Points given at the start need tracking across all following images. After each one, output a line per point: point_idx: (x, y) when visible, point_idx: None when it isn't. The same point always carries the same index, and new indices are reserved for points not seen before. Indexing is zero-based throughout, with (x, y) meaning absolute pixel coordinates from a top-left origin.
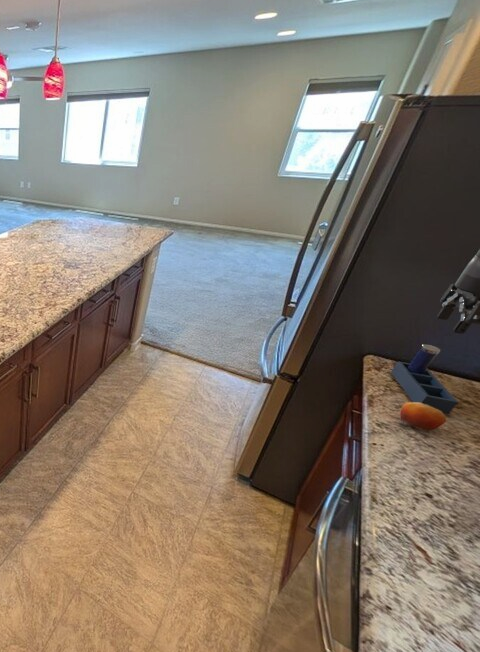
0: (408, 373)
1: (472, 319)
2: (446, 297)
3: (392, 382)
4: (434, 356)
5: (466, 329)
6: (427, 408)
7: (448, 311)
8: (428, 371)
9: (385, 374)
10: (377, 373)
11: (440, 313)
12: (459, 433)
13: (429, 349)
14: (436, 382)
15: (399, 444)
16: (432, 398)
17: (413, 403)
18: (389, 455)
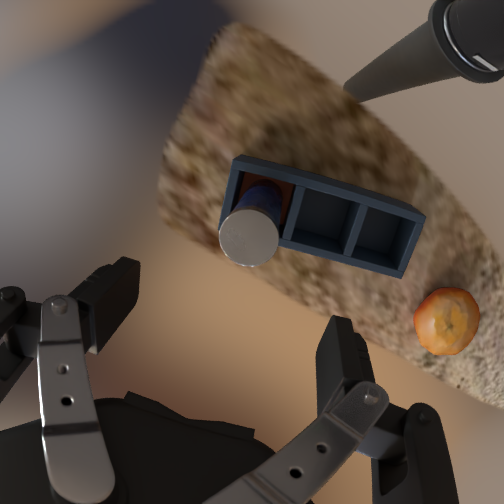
0: (290, 247)
1: (404, 459)
2: (14, 375)
3: None
4: (277, 222)
5: (367, 355)
6: (462, 346)
7: (107, 311)
8: (268, 174)
9: None
10: None
11: (119, 324)
12: (465, 237)
13: (265, 257)
14: (331, 194)
15: (468, 357)
16: (406, 265)
17: (438, 351)
18: (478, 378)
